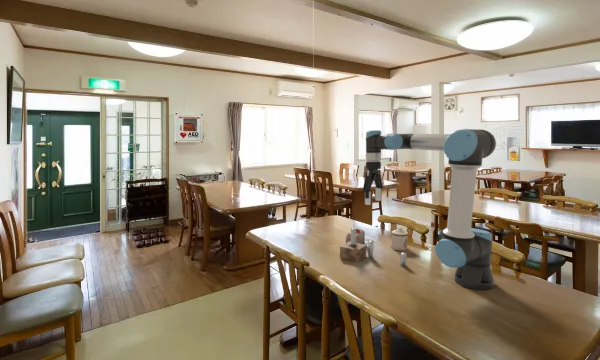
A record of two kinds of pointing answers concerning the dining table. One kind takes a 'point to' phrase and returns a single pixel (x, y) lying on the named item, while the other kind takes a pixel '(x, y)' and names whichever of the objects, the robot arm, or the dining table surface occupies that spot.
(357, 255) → the hole block
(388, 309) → the dining table surface
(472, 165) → the robot arm
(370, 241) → the pin medium
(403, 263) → the pin short
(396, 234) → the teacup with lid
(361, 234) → the food item
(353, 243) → the pin long
